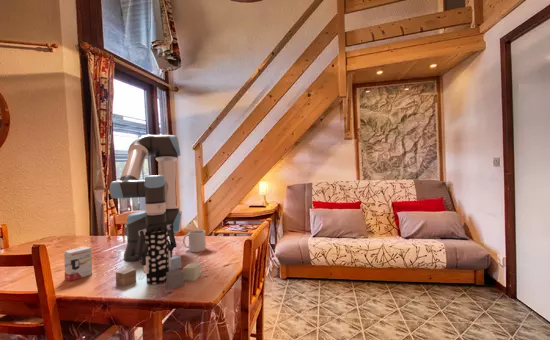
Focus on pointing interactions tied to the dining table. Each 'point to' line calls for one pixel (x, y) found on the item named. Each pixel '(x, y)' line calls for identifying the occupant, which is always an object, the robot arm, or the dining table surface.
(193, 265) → the sage block
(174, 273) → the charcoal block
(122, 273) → the walnut block
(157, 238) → the spotted tube
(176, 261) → the dusty blue block
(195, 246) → the mug
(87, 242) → the dining table surface
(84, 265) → the ink box
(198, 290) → the dining table surface
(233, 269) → the dining table surface
